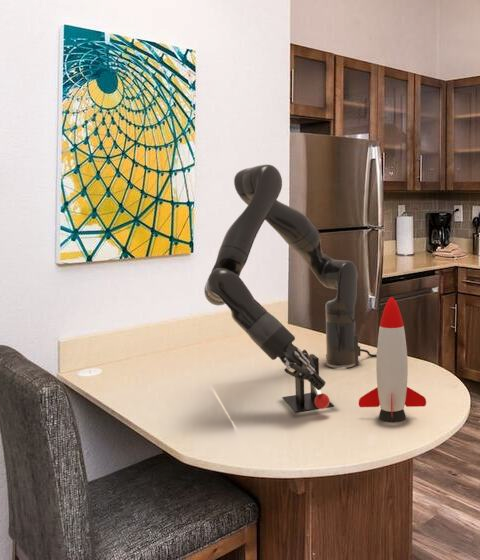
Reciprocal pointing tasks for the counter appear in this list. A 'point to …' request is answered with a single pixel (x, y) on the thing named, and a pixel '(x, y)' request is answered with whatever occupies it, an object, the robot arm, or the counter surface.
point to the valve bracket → (302, 400)
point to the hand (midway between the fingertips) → (322, 386)
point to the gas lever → (321, 399)
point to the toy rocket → (392, 370)
